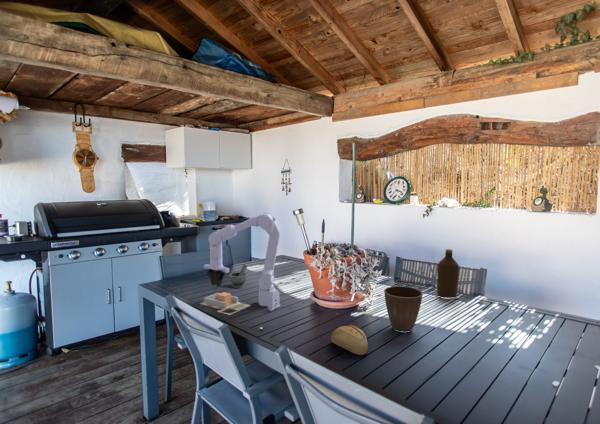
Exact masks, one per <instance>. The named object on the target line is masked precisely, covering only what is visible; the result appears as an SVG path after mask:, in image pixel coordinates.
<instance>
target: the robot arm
mask: <svg viewBox="0 0 600 424" xmlns="http://www.w3.org/2000/svg"><path fill="white" fill-rule="evenodd" d="M249 227H256V228H257V227H259V228H261V229H262V230H264V231H265V232H266V233H267V234H268V236H269V237H268V241H267V247H266V253H265V259H264V265H263V269H262V272H261V277H260V278H259V279H258V283H257V284H258V286H259V287H258V305H259V306H261V307H265V308H264V310H265V311H271V312H272V311H274V310H276V309H277V308H279V307H281V304H280V303H281V302H280V297H281V296H280V295H281V294H280V291H279V290H278V289H276V288H275V285H274V281H275V274H274V271H275V270H274V269H275V264H276V259H277V252H278V246H279V242H280V236H281V229H280V228H279V225H278V223H277V220H276V218H275V216H273V214H271V213H270V212H265V213H262V214H258V215H256V216H253V217H250V218H249V219H246V220H245V221H242V222H241V223H238V224H236V225H233V224H226V225H225V227H223V228H221V229H216V231H214V232H211V234H210V235H209V236H208V243H209V264H208V263H205V264H203V269H204V270H207V271H206V273H207V275H208V276H209V279H210V283H211V286H216V287H221V286H222V282H223V279H224V276H225V275H226V274H227V273H230V268H229V267H227V266H224V265H223V242H226V241H227V240H230V239H231V238H234V237H237V235H238V232H241V231H243V230H246V229H248V228H249Z"/></svg>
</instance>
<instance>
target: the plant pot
mask: <svg viewBox="0 0 600 424" xmlns="http://www.w3.org/2000/svg"><path fill="white" fill-rule="evenodd" d="M383 291H384V293H383V294H384V301H385V307H386V311H387V316H388V319H389V322H390V326H391V328H392V330H393V329H395V330H398V331H411V330H412V331H413V328H414V326H415V324H416V321H417V319H418V316H419V312H420V309H421V304H422V301H423V296H424V295H423V294H424V293H423V292H422V291H421V290H419V289H416V288H414V287H409V286H398V285H396V286H395V285H394V286H389V287H386V288H385V289H384V290H383ZM412 331H411V332H412Z"/></svg>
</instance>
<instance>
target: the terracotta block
mask: <svg viewBox="0 0 600 424" xmlns="http://www.w3.org/2000/svg"><path fill="white" fill-rule="evenodd" d="M219 293H220V294H218V295H217V300H218V301H222V302H226V305H228V304H230V303H231V296H232V293H230V292H224V291H223V292H219Z"/></svg>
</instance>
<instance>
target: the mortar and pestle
mask: <svg viewBox="0 0 600 424" xmlns="http://www.w3.org/2000/svg"><path fill="white" fill-rule="evenodd" d="M241 267H242V268H241V269H240V271H238V272H236V271H235V272H231V273H230V274H229V275H228V276H229V281H230V283H231V284H232V287H233V288H234V289H242V288H244V287H245V283H246V282H247V279H248V273H246V272H247V268H248V267H249V266H248V264H245V263H243V264H242V266H241Z"/></svg>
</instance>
